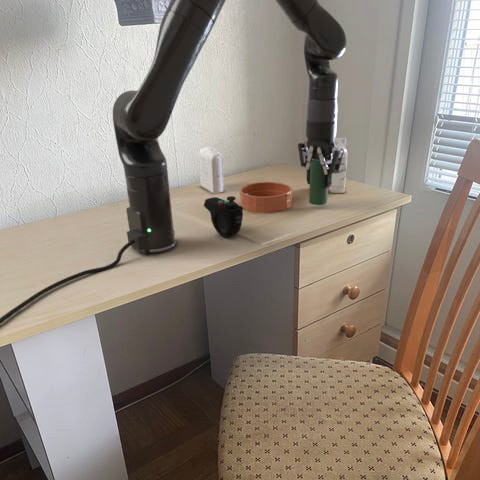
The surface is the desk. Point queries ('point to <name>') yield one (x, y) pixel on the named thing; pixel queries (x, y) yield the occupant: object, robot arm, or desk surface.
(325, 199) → the green cylinder
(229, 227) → the controller
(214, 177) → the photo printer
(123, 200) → the desk surface
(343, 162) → the ink cartridge box
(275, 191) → the bowl
